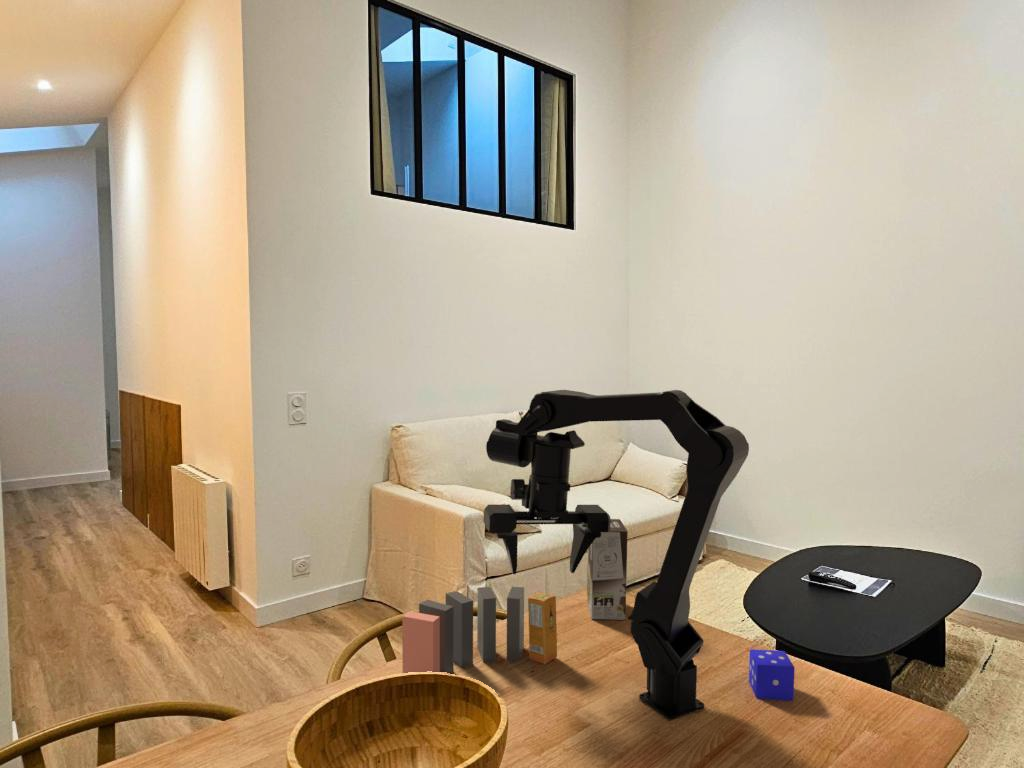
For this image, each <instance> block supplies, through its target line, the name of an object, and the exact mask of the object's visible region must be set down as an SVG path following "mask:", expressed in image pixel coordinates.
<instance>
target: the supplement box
mask: <svg viewBox="0 0 1024 768" xmlns="http://www.w3.org/2000/svg"><path fill="white" fill-rule="evenodd" d="M556 598H557V596H555V595H554V594H553V595H552V594H549V593H544V592H538V593H536V594H534V595H532V596H530V597H528V599H527V602H528V603H527V604H528V605H527V606H528V638H529V641H528V642H529V643H528V644H529V660H531V661H534V662H536V663H540V664H543V665H547V664H548V663H549V662H551V661H552V660H555V659H556V658H557V657H558V639H557V638H558V637H557V636H558V634H557V599H556Z"/></svg>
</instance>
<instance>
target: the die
mask: <svg viewBox="0 0 1024 768" xmlns="http://www.w3.org/2000/svg"><path fill="white" fill-rule="evenodd" d="M748 660H749V665H748V669H749V670H748V683H749V685H750V687H751V690H752V692H753V693H754V696H755V698H756V699H757V700H758V699H759V700H760V699H761V700H771V701H772V700H774V701H789V702H790V701H791V702H793V701H794V697H795V696H794V694H795V693H794V692H795V690H794V689H795V666H794V664H793V662H792V660H791V659H790V658H789V656H788V654H787V653H786V651H785V650H772V649H755V648H754V649H753V648H751V649H749V659H748Z"/></svg>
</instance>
